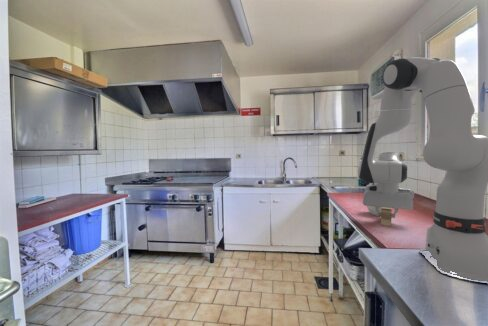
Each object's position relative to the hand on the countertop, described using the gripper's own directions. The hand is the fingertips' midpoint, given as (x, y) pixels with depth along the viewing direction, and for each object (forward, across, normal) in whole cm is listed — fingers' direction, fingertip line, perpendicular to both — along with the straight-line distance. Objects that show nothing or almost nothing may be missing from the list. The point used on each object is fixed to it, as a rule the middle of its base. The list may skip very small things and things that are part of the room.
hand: (386, 216), depth 114 cm
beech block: (+2, 0, 0) cm, 2 cm away
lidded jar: (+3, +3, -13) cm, 14 cm away
